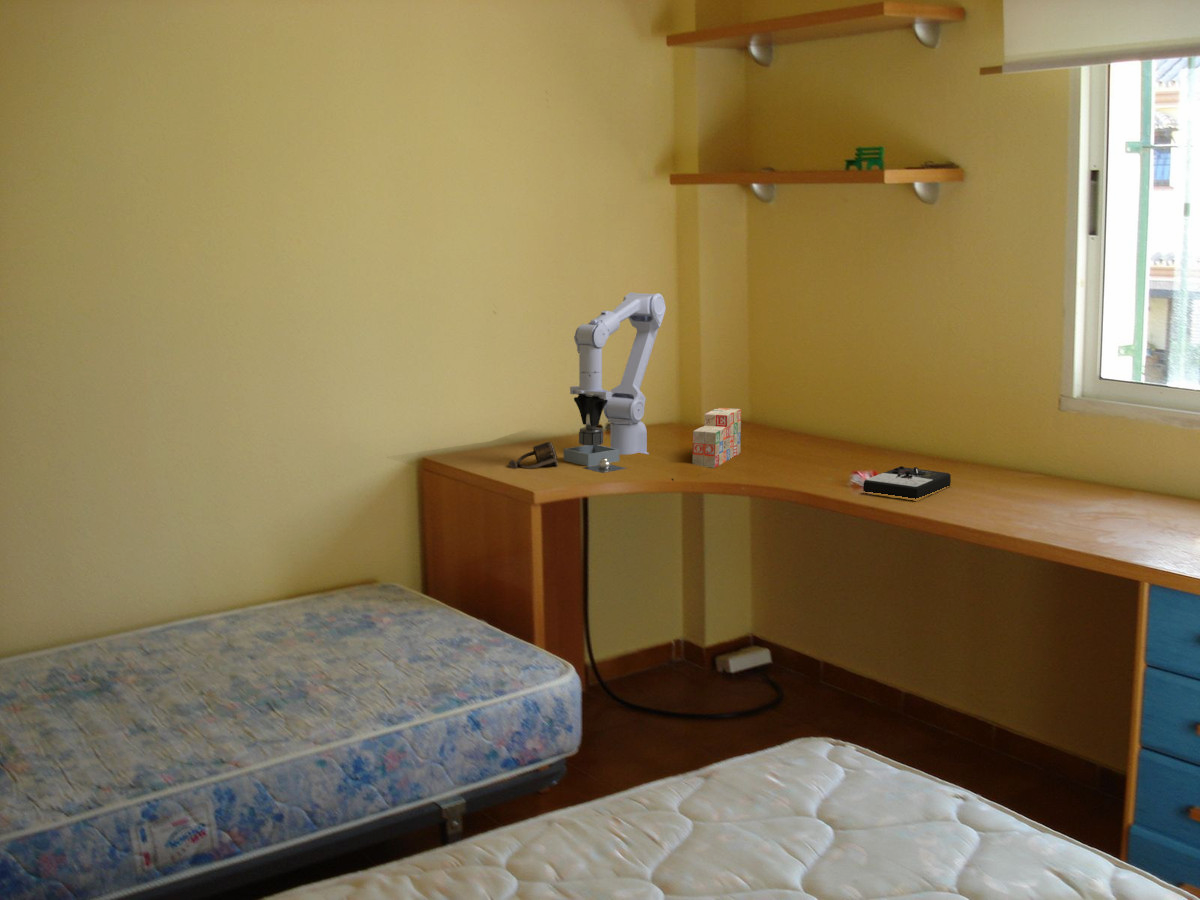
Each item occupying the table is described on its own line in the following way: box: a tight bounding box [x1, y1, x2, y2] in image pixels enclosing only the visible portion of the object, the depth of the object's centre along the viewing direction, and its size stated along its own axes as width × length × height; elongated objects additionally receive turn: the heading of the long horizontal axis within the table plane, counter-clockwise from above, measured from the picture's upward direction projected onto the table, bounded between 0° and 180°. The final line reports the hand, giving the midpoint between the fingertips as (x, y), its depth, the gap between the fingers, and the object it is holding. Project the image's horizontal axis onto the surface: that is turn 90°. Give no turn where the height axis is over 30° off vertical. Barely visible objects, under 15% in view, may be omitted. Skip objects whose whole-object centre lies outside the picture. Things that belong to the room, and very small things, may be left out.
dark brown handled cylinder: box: [508, 441, 559, 470], centre depth 310 cm, size 7×13×10 cm
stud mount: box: [583, 458, 628, 474], centre depth 307 cm, size 8×8×4 cm
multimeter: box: [862, 465, 952, 499], centre depth 284 cm, size 13×19×5 cm
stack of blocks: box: [692, 407, 742, 469], centre depth 320 cm, size 21×6×12 cm, turn 156°
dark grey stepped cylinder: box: [578, 413, 604, 446], centre depth 314 cm, size 6×6×8 cm
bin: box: [563, 444, 620, 467], centre depth 316 cm, size 10×10×4 cm
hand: (590, 425), depth 314 cm, fingers closed on dark grey stepped cylinder, 3 cm apart
